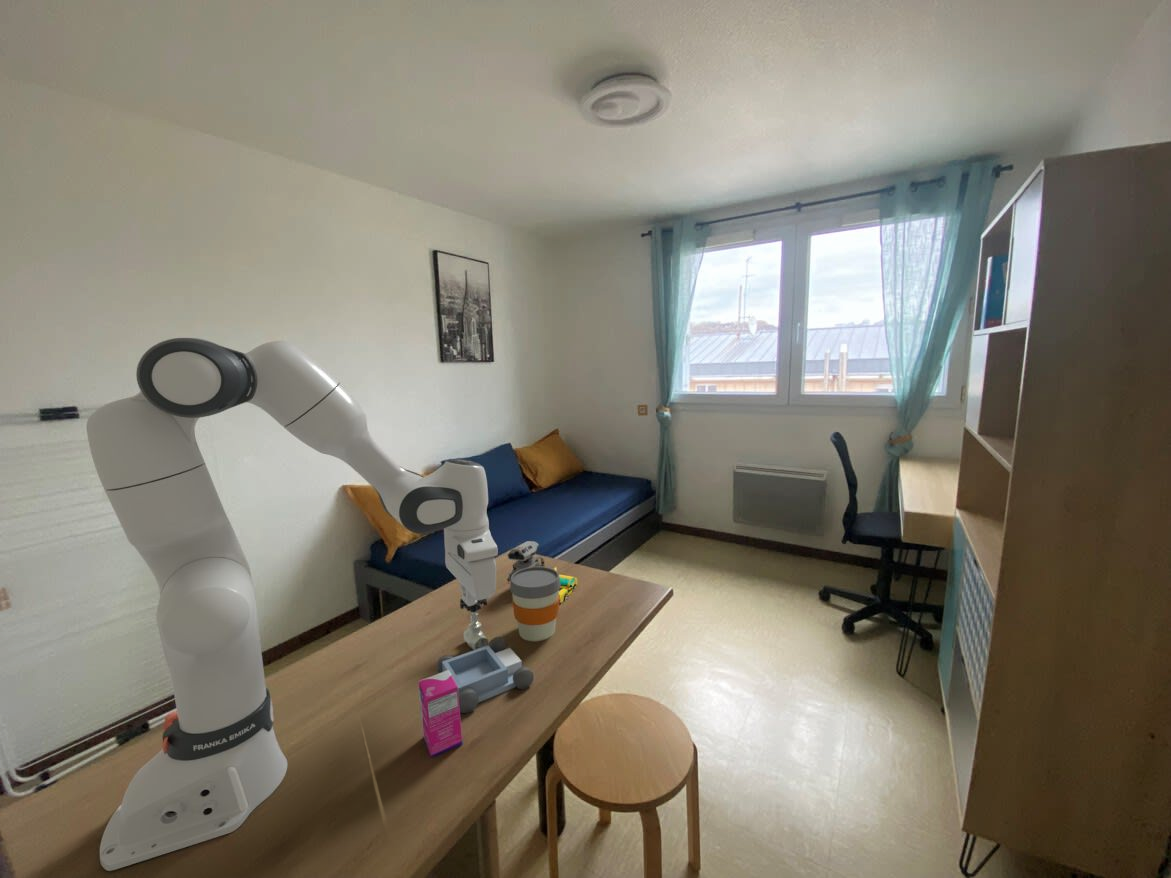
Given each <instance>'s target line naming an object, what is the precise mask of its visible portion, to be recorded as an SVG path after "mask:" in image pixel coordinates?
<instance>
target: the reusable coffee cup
mask: <svg viewBox="0 0 1171 878" xmlns="http://www.w3.org/2000/svg"><path fill="white" fill-rule="evenodd" d="M559 575H560V574H559V572H558V570H557V571H556V570H555V569H554V568H552V567H549V566H548V567H547V566H545V567H528V568H524V569H521V570H518V571H517V572H515V573H514V574H513V575H512V576H511V581H510V582H509V586H510V587H509V590H510V592H511V596H512V597H511V603H512V604H511V606H512V609H513V610H512V611H513V615H514V619H515V620H516V623H517V627H518V629H517V630H518V633H519V636H520V638H522V639H523V640H525V641H529V642H541V641H544V640H547V639H550V638H551V637H552V636H553V635H554V634H555V631H556V625H557V624H556V623H557V617H558V615H559V609H560V603H559V601H560V595H559V589H560V587H561V584H560V577H559Z"/></svg>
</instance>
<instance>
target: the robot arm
mask: <svg viewBox="0 0 1171 878" xmlns="http://www.w3.org/2000/svg"><path fill="white" fill-rule="evenodd" d="M135 374H136V375H135V376H136V382H137V385H138V388H139V390H140V391H139V392H138V393H136V395H132V396H130V397H125V398H121V399H117V400H114V401H111V402H109V403H106V404H104V405H103V406H100V407H99V408H98V409H96V410H95V411H93V412H92V413H91V414H90V416H89V417H88V418H87V420H86V421H87V422H86V424H85V425H86V427H85V428H86V434H87V439H88V441H87V442H88V444H89V451H90V454H91V458H92V461H93V465H94V467H95V470H96V473H97V476H98V478H99V481H100V483H101V485H102V487H103V489H104V491H105V494H106V497H107V498H108V500H109V503H110V505H111V507H112V509H113V510H114V512H115V515H116V517H117V519H118V521H119V523H120V525H121V527H122V530H123V532H124V534H125V537H126V538H127V540H128V543H130V545H132V546H133V547H134V549H136V550H137V552H138V553H139V554H140V556H141V558H142V559H143V560H144V562H145V563H146V565H147V567H148V568H149V569H150V571H151V572H152V575H154V578H155V580H156V581H157V584H158V589H159V601H158V605H157V609H156V614H155V615H156V618H155V619H156V625H157V630H158V633H159V639H160V643H161V646H162V651H163V653H164V658H165V663H166V665H167V668H168V670H169V674H170V677H171V684H172V689H173V696H174V700H175V701H174V702H175V709H176V711H172V712H170V713H168V714H167V715H166V717H165V719H164V722H163V725H162V728H163V730H164V731H163V734H162V749H160V751H159V752H158V753H157V754H155V755H154V756H153V757H151V759H150V760H149V761H147V762H146V763H145V764H143V766H141V768H139V770H138V771H137V772H136V773H135V775H134V776H133V777H132V779H131V781H130V782H129V785H128V786H127V789H126V790H125V792H124V796H123V798H122V801H121V804H120V805H119V807H117V809H116V810H115V811H114V813H113V814H112V815H111V817H110V820H108V823H107V825H106V827H105V829H104V831H103V835H102V837H101V841H100V845H99V862H100V865H101V866H102V868H103V869H104V870H106V871H108V872H112V871H115V870H119V869H122V868H124V867H127V866H131V865H133V864H136V863H140V862H144V861H146V860H150V859H152V858H153V859H154V858H157V857H159V856H162V855H165V854H168V853H171V852H175V851H177V850H181V849H184V848H186V847H191V846H193V845H197V844H200V843H203V842H206V841H209V840H212V839H216V838H219V837H221V836H225V835H227V834H230V833H233V832H235V831H236V830H237V829H238V828H239V827H240V826H242V825H243V823H244V822H245V821H246V819H248V817H249V815H250V814H251V813H252V812H253V811H254V810H255V809H256V808H257V807H258V806H260V805H261V804H262V803H263V802H264V801H265V800H266V799H268V798H269V797H270V796H271V795H272V794H273V793H274V791H275V790H277V788H278V787H279V785H281V783H282V781H283V780H284V778H285V776H286V773H287V770H288V760H287V758H286V756H285V755H284V753H283V751H282V750H281V747H280V745H279V743H278V740H277V737H276V734H275V730H274V727H273V725H274V720H275V719H274V707H273V700H272V697H271V693H270V690H269V689H268V687H267V686H266V678H265V670H264V662H263V661H264V660H263V654H262V647H261V646H262V644H261V636H260V626H259V617H258V608H257V600H256V594H255V589H254V588H255V587H254V582H253V578H252V577H253V576H252V574H251V568H250V564H249V562H248V560H247V558H246V555H245V553H244V550H243V548H242V546H241V544H240V541H239V539H238V537H237V535H236V533H235V530H234V527H233V525H232V523H231V521H230V519H229V517H228V515H227V512H226V511H225V509H224V506H223V504H222V501H221V499H220V496H219V494H218V492H217V488H216V486H215V485H214V482H213V479H212V476H211V474H210V472H209V470H208V467H207V464H206V462H205V459H204V457H203V454H202V453H201V450H200V447H199V445H198V442H197V438H196V433H195V428H196V423H197V422H198V420H200V419H201V418H205V417H211V416H213V415H217V414H220V413H223V412H225V411H227V410H230V409H231V408H235V407H237V406H239V405H242V404H246V403H249V404H252V405H254V406H256V407H258V408H260V409H261V410H262V411H264V412H266V413H267V414H268V415H269V416H271V418H272V419H274V420H275V421H276V422H277V423H278V424H279V425H281V427H283V428H284V429H285V430H286V431H287V432H289V433H290V434H291V435H292V436H294V437H295V438H296V439H298V440H299V441H300V442H302V443H303V444H305V445H307V446H308V447H309V448H311V449H313V450H314V451H317V452H318V453H321V454H324V455H327V456H332V457H334V458H337V459H339V460H341V461H343V462H344V463H345V464H347V465H348V466H349V467H350V468H352V469H353V470H354V471H355V472H356V473H357V474H358V475H360V476H361V477H362V478H363V479H364V480H365V481H366V482H367V483H368V484H370V486H371V487H372V488H373V489H374V490H375V491H376V493H377V496H378V498H379V500H380V503H381V505H382V508H383V510H384V511H385V512H386V514H388V515H389V516H390V517H392V518H393V519H395V520H396V521H397V522H398V523H399V524H400V525H401V526H402V527H403V528H404V529H407V531H409V532H411V533H413V534H417V535H418V534H419V535H427V534H430V533H435V532H437V531H441V530H443V535H444V536H443V538H444V539H443V540H444V553H445V554H444V555H445V556H444V560H445V561H444V562H445V567H446V569H448V570H449V572H450V573H451V575H453V576H454V577H455V578H456V579H457V580H458V582H459V587H460V591H461V594H462V597H461V599H463V601H464V602H465V603H466V604H467V606H472V605H474V604H475V603H476V600H483V599H487V600H488V599H490V598H492V597H494V594H495V593H496V588H497V564H496V559H495V557H496V556H498V552H499V551H498V550H499V549H498V548H499V547H498V545H497V543H496V542H495V540H494V538H493V536H492V533H491V531H490V524H489V517H488V513H487V509H488V505H489V490H488V487H489V486H488V480H487V474H486V470H485V467H484V466H483V465H481V464H480V463H479V462H476V461H474V460H468V459H462V458H451V459H447V460H446V461H444V463H443V464H442V465H441V466H440V467H439V468H437V469H436V470H435V471H433V472H431V473H430V474H427V475H426V476H423V475H421V474H420V473H417V472H415V471H412V470H410V469H406V468H403V467H402V466H400V465H399V464H398V463H397V462H396V461H395V460H394V459H393V458H392V457H390V455H389V454H388V453H387V452H386V451H385V450H384V449H383V448H382V447H381V446H380V445H379V444H378V443H377V442H376V441H375V440H374V438H373V437H372V435H371V434H370V432H369V429H368V425H367V415H366V413H365V411H364V410H363V407H361V406H360V404H359V402H358V401H357V400H356V399H355V397H354V396H353V395H352V394H351V392H350V391H349V390H348V389H347V388H346V387H345V386H344V385H343V384H342V383H341V382H340V381H339V379H337V378H336V377H335V376H334V375H333V374H332V373H331V372H329V371H328V370H327V369H326V368H325V367H324V366H323V365H321V364H320V363H319V362H318V361H316V360H315V359H314V358H312V357H311V356H310V355H308V354H307V353H306V352H304V351H303V349H300V348H299V347H297V346H296V345H294V344H293V343H291V342H287V341H284V340H282V341H281V340H275V341H269V342H265V343H262V344H260V345H258V346H255V348H253V349H252V350H250V351H248V352H246V353H243V352H241V351H238V350H235V349H232V348H228V347H224V346H222V345H220V344H217V343H216V342H212V341H210V340H207V339H203V338H199V337H198V338H197V337H176V338H170V339H167V340H162V341H160V342H158V343H157V344H155V345H153V346H151V347H150V348H148V349H147V350H146V351H145V353H144V354H143V355H142V356H141V358H140V359H139V361H138V364H137V367H136V373H135Z"/></svg>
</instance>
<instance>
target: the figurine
mask: <svg viewBox="0 0 1171 878" xmlns="http://www.w3.org/2000/svg"><path fill="white" fill-rule="evenodd" d="M539 546H540V545H539V543H538V542H537V541H534V540H527V541H525V542H522V543H520V542H518V543H517V546H516V547H514V548H512V549H511V550H510V551H509V552H508V553H507V555H506V556H507V558H508V560H511V561H515V562H514V563H513V564H512V571H511V572H509V573H508V577H507V579H506V580H507V583H510V582H511V576H512V575H513V574H514V573H515V572H517V571H518V570H521V569H524V568H528V567H546V564H545V559H544V558H542V557H541V556H539V557H535V555H536V553H537V549H538V548H539Z"/></svg>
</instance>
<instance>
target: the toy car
mask: <svg viewBox="0 0 1171 878" xmlns="http://www.w3.org/2000/svg"><path fill="white" fill-rule="evenodd" d="M553 569H554V570H556V571H557V572H558V570H557V569H558V568H557V567H554V568H553ZM559 577H560V584H561V587H560V589H559V595H560V601H559V604H562V603H563V602H565V601H567V600H568V599H569V596H570V594H572V592H573V591H572V590H573V589H575V588H576V586H577V587H578V578H577V577H575V576H570V575H565V574H564V575H563V574H559ZM576 589H577V588H576ZM576 589H575V590H576ZM566 599H567V600H566Z"/></svg>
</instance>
